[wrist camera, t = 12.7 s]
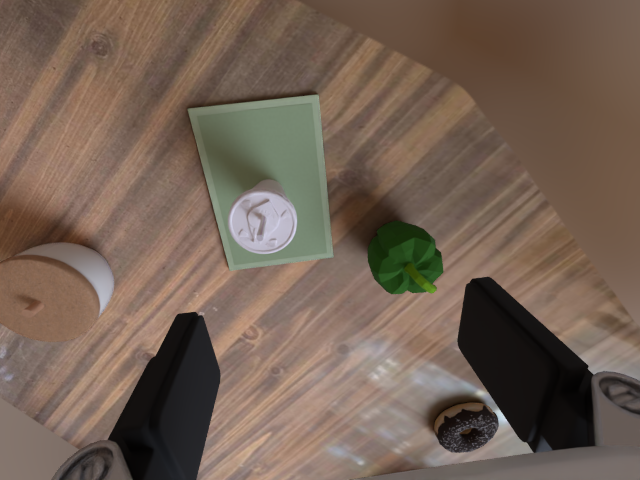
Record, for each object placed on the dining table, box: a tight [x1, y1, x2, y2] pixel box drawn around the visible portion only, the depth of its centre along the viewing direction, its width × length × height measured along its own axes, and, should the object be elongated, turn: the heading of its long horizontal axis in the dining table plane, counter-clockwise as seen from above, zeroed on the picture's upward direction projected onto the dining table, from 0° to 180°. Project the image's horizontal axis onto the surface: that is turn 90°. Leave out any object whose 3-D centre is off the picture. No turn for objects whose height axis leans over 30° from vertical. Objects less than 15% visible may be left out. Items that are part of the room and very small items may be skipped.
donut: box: [434, 403, 498, 453], centre depth 57 cm, size 11×12×4 cm
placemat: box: [188, 94, 333, 271], centre depth 37 cm, size 20×14×1 cm
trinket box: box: [0, 242, 114, 342], centre depth 35 cm, size 11×11×9 cm
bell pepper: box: [368, 221, 443, 294], centre depth 37 cm, size 8×8×10 cm
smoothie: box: [228, 179, 297, 254], centre depth 30 cm, size 6×6×14 cm
